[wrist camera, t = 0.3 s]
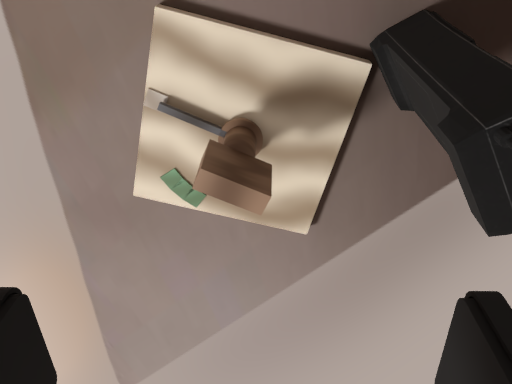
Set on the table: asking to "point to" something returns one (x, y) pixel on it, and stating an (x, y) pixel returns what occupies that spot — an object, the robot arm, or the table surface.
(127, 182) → the table surface
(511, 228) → the portable radio
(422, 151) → the table surface
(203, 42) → the dial board
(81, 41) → the table surface
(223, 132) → the tuning peg
